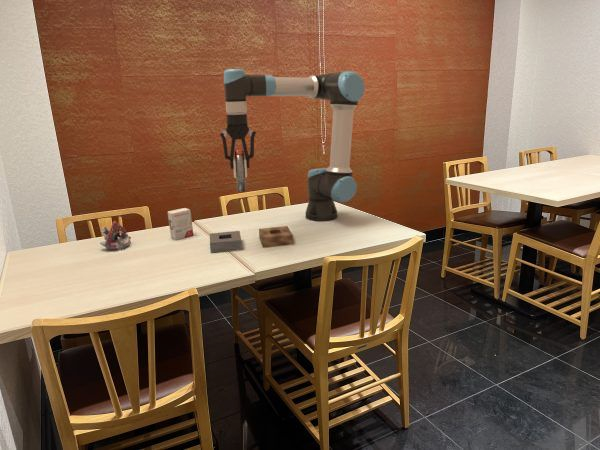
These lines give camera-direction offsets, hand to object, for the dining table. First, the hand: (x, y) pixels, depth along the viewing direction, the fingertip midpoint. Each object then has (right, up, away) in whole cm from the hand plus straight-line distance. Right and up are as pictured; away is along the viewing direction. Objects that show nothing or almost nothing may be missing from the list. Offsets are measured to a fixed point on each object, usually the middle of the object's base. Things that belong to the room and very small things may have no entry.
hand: (240, 176), depth 169 cm
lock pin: (0, -5, +2) cm, 6 cm away
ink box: (-28, -24, +21) cm, 42 cm away
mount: (+13, -25, +11) cm, 30 cm away
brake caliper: (-52, -28, +12) cm, 60 cm away
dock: (-7, -27, +7) cm, 29 cm away
